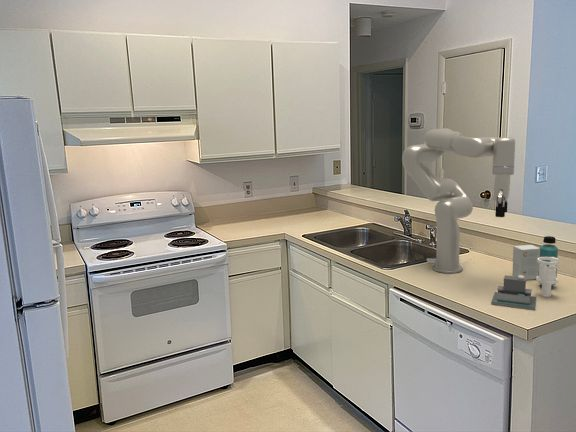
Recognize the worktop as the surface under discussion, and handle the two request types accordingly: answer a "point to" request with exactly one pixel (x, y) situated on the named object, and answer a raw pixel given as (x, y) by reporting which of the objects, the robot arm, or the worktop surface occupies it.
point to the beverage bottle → (549, 251)
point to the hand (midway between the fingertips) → (501, 214)
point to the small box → (526, 261)
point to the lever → (514, 285)
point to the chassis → (514, 300)
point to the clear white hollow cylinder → (547, 274)
